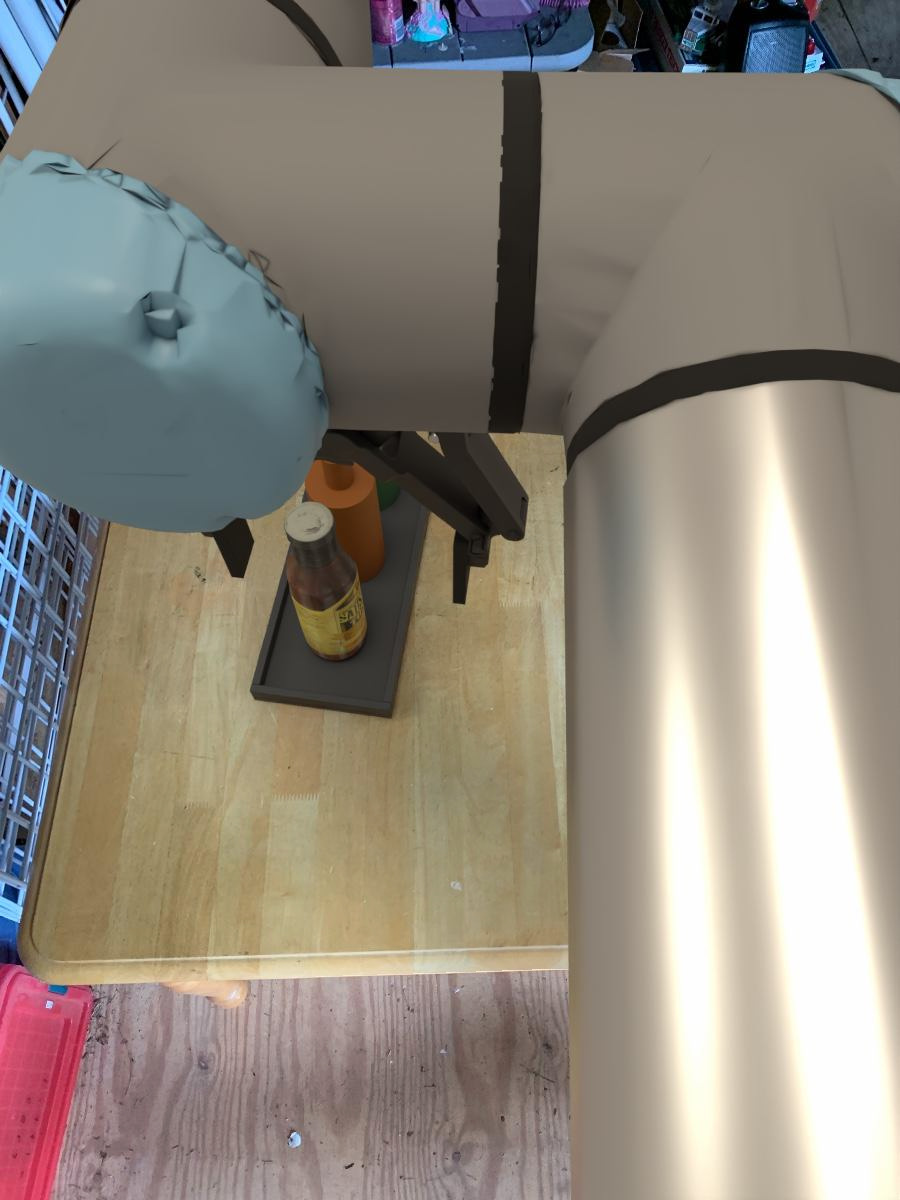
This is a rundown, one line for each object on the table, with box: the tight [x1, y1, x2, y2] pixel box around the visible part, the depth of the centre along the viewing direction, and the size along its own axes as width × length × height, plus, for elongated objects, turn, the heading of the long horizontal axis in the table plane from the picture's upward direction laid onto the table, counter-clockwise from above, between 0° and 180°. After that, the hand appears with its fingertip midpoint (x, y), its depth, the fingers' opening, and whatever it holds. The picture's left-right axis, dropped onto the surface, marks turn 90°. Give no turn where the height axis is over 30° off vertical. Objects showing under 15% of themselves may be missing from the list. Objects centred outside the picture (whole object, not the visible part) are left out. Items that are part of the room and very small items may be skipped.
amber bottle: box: [304, 460, 385, 583], centre depth 80 cm, size 6×6×18 cm
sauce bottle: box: [283, 502, 367, 660], centre depth 75 cm, size 7×6×20 cm
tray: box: [249, 460, 431, 719], centre depth 87 cm, size 31×14×2 cm, turn 172°
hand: (351, 572), depth 51 cm, fingers open, 13 cm apart
